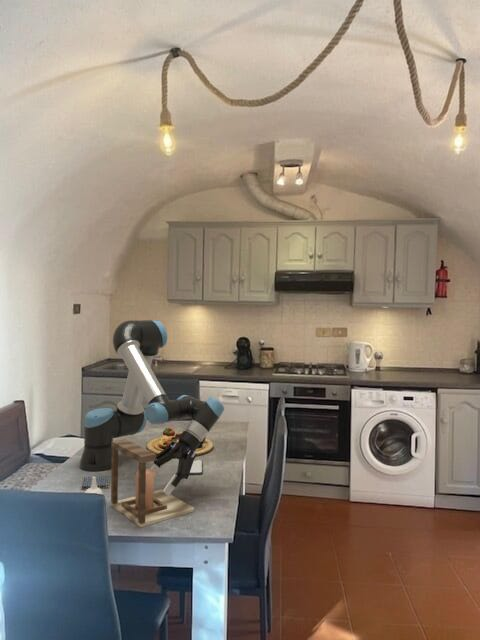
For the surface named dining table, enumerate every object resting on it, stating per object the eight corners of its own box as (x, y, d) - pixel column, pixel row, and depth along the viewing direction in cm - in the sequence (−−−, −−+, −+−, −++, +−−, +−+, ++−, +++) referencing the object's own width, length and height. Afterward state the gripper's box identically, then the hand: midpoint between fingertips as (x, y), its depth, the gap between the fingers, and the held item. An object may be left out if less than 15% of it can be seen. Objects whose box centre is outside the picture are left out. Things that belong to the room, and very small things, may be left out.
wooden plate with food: (142, 441, 248) (142, 425, 248) (204, 436, 258) (204, 421, 258) (151, 463, 218) (151, 444, 217) (221, 456, 228) (221, 438, 227)
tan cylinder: (132, 506, 166) (132, 471, 165) (147, 502, 170) (148, 467, 169) (140, 512, 161) (141, 476, 161) (156, 508, 165) (157, 472, 165)
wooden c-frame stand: (110, 505, 169) (111, 441, 168) (161, 492, 182) (162, 432, 181) (140, 527, 153) (141, 456, 152) (194, 511, 166) (195, 445, 165)
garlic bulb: (82, 503, 171) (81, 481, 170) (86, 494, 178) (86, 473, 177) (100, 503, 172) (100, 481, 171) (104, 495, 178) (104, 473, 177)
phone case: (202, 476, 201) (202, 463, 217) (202, 472, 201) (202, 459, 217) (180, 477, 200) (182, 463, 216) (180, 473, 200) (182, 459, 216)
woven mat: (110, 480, 194) (110, 475, 194) (109, 490, 184) (109, 484, 184) (82, 481, 192) (82, 476, 192) (80, 492, 182) (80, 486, 182)
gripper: (219, 450, 168) (181, 505, 159) (180, 434, 188) (144, 482, 179) (207, 437, 165) (167, 492, 156) (168, 423, 184) (131, 471, 175)
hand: (155, 487), depth 167 cm, fingers open, 13 cm apart
